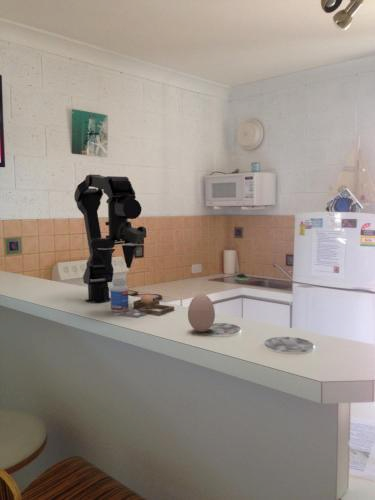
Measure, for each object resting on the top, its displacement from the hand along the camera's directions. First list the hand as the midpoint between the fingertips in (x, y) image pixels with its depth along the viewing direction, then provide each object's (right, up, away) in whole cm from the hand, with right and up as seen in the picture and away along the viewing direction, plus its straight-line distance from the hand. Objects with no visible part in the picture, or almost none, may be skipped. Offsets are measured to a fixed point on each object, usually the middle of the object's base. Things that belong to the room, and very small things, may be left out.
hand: (119, 269), depth 141 cm
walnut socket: (+11, -13, -1) cm, 17 cm away
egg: (+24, -15, -24) cm, 37 cm away
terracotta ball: (+8, -12, +4) cm, 15 cm away
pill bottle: (0, -13, +1) cm, 13 cm away
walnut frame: (+8, -12, +4) cm, 15 cm away
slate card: (+5, -13, -5) cm, 15 cm away
